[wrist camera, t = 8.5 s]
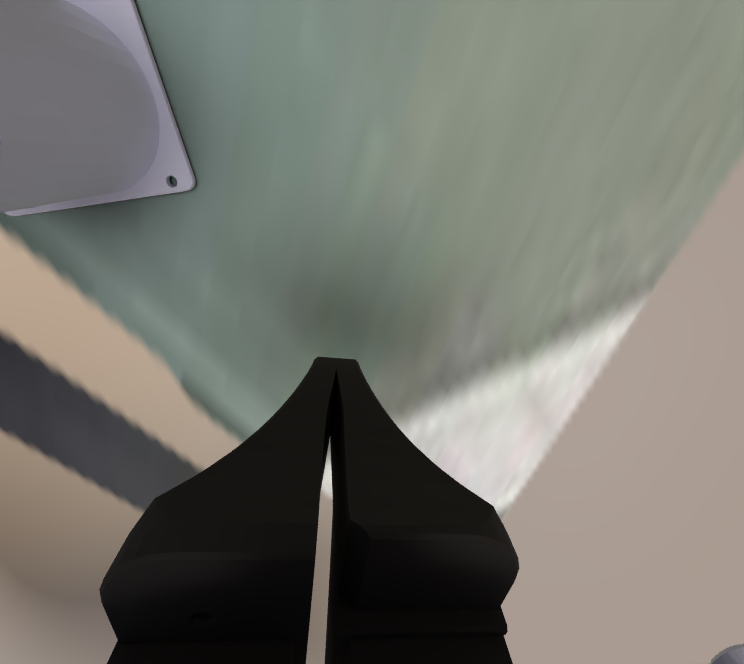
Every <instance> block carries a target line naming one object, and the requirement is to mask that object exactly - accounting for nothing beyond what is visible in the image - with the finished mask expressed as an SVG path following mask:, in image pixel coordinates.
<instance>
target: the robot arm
mask: <svg viewBox="0 0 744 664" xmlns="http://www.w3.org/2000/svg"><path fill="white" fill-rule="evenodd" d="M170 176H173V177H175V178H176V180H177V186H176V187H175V186H173V185H172V184H171V183H170ZM195 183H196V182H195V177H194V174H193V171H192V168H191V165H190V162H189V159H188V157H187V154H186V151H185V148H184V145H183V142H182V139H181V136H180V133H179V130H178V127H177V124H176V122H175V119H174V116H173V113H172V110H171V107H170V104H169V101H168V98H167V95H166V92H165V89H164V86H163V84H162V81H161V78H160V75H159V72H158V69H157V66H156V63H155V60H154V57H153V54H152V51H151V49H150V46H149V43H148V40H147V37H146V34H145V31H144V28H143V25H142V22H141V19H140V16H139V14H138V11H137V8H136V5H135V2H134V0H0V213H3V212H4V213H5V214H7V215H9V216H21V215H28V214H35V213H41V212H48V211H55V210H62V209H68V208H75V207H82V206H89V205H95V204H102V203H109V202H116V201H122V200H129V199H136V198H142V197H149V196H156V195H163V194H169V193H176V192H183V191H188V190H191V189H193V187H194V186H195ZM329 439H330V442H331V466H332V489H333V518H332V519H333V520H332V540H331V558H330V579H329V596H328V615H327V633H326V650H325V664H513V663H512V660H511V657H510V654H509V651H508V648H507V645H506V642H505V639H504V635H505V634H506V633H507V624H506V621H505V618H504V615H503V612H502V609H501V604H502V602H503V600H504V599H505V597H506V595H507V594H508V592H509V590H510V588H511V587H512V585H513V583H514V581H515V579H516V576H517V573H518V570H519V562H518V557H517V554H516V552H515V549H514V547H513V545H512V542H511V540H510V538H509V536H508V533H507V531H506V529H505V527H504V525H503V523H502V522H501V520H500V518H499V516H498V515H497V513H496V511H495V509H494V507H493V506H492V505H491V504H489V503H488V502H486V501H485V500H483V499H482V498H480V497H479V496H477V495H476V494H474V493H473V492H471V491H470V490H468V489H467V488H465V487H464V486H462V485H461V484H460V483H458V482H457V481H456V480H454V479H453V478H452V477H450V476H449V475H448V474H447V473H445V472H444V471H443V470H441V469H440V468H439V467H438V466H437V465H435V464H434V463H433V462H432V461H431V460H430V459H429V458H427V457H426V456H425V455H424V454H423V453H422V452H421V451H420V450H419V449H418V448H417V447H416V446H415V445H414V444H413V443H412V442H411V441H410V440H409V439H408V438H407V437H406V436H405V435H404V434H403V433H402V431H401V430H400V429H399V428H398V427H397V426H396V424H395V423H394V422H393V421H392V419H391V418H390V417H389V415H388V414H387V413H386V411H385V410H384V408H383V407H382V406H381V404H380V403H379V401H378V400H377V398H376V396H375V395H374V393H373V391H372V390H371V388H370V386H369V385H368V383H367V381H366V379H365V377H364V375H363V373H362V371H361V369H360V366H359V364H358V362H357V361H356V360H354V359H341V358H328V357H317V358H316V359H314V362H313V364H312V366H311V368H310V370H309V371H308V373H307V374H306V376H305V377H304V379H303V380H302V382H301V383H300V384H299V386H298V387H297V388H296V390H295V391H294V392H293V394H292V395H291V396H290V397H289V398H288V400H287V401H286V402H285V403H284V404H283V405H282V407H281V408H280V409H279V410H278V411H277V412H276V413H275V414H274V415H273V416H272V417H271V418H270V419H269V420H268V421H267V422H266V423H265V424H264V425H263V426H262V427H261V428H260V429H259V430H257V431H256V432H255V433H254V434H253V435H251V436H250V437H249V438H248V439H247V440H246V441H244V442H243V443H242V444H241V445H239V446H238V447H237V448H236V449H234V450H233V451H232V452H231V453H229V454H227V455H226V456H224V457H223V458H221V459H220V460H219V461H217V462H216V463H214V464H213V465H211V466H210V467H208V468H207V469H205V470H204V471H202V472H201V473H199V474H197V475H196V476H194V477H192V478H191V479H189V480H187V481H185V482H183V483H182V484H180V485H178V486H176V487H175V488H173V489H171V490H169V491H168V492H166V493H164V494H162V495H160V496H158V497H156V498H155V499H154V500H153V501H152V503H151V504H150V505H149V507H148V508H147V510H146V511H145V512H144V514H143V515H142V517H141V518H140V519H139V521H138V522H137V523H136V525H135V526H134V528H133V529H132V531H131V532H130V533H129V535H128V537H127V538H126V540H125V542H124V544H123V545H122V547H121V549H120V551H119V552H118V554H117V556H116V558H115V559H114V561H113V563H112V565H111V567H110V568H109V570H108V572H107V574H106V576H105V577H104V579H103V582H102V584H101V587H100V596H101V602H102V604H103V607H104V609H105V611H106V613H107V616H108V618H109V621H110V623H111V625H112V628H113V630H114V632H115V634H116V637H117V639H118V642H117V644H116V645H115V648H114V650H113V652H112V654H111V656H110V658H109V661H108V663H107V664H306V654H307V643H308V632H309V622H310V611H311V600H312V588H313V577H314V567H315V554H316V542H317V529H318V516H319V501H320V491H321V485H322V480H323V474H324V468H325V462H326V456H327V450H328V445H329ZM710 664H744V644H740V645H734V646H731V647H729V648H726V649H724V650H723V651H721V652H719V653H718V654H717V655H716V656H715V657H714V658H713V659H712V660H711V663H710Z"/></svg>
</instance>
